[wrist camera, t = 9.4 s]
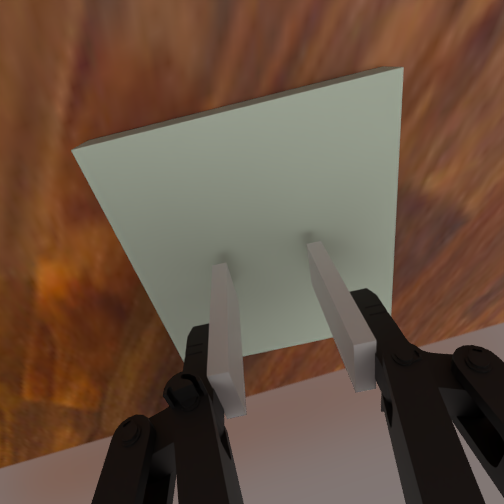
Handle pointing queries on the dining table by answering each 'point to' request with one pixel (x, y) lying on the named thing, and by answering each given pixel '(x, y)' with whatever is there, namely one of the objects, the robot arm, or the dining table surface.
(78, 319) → the dining table surface
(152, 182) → the base
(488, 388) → the robot arm
